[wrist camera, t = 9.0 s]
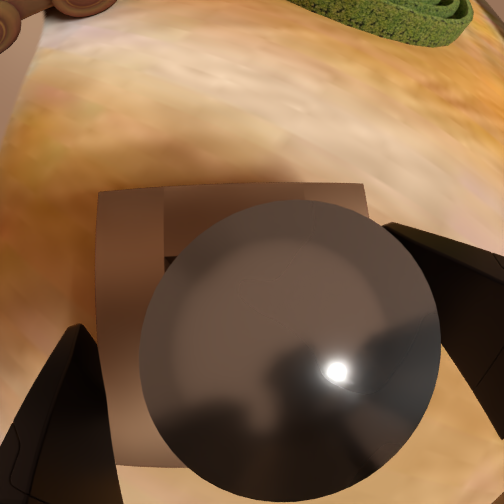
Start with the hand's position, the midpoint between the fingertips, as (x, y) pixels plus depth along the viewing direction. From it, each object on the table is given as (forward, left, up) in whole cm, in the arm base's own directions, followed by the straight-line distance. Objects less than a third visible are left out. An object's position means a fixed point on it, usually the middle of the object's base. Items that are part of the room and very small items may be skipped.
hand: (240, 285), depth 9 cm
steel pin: (-1, 0, -8) cm, 8 cm away
